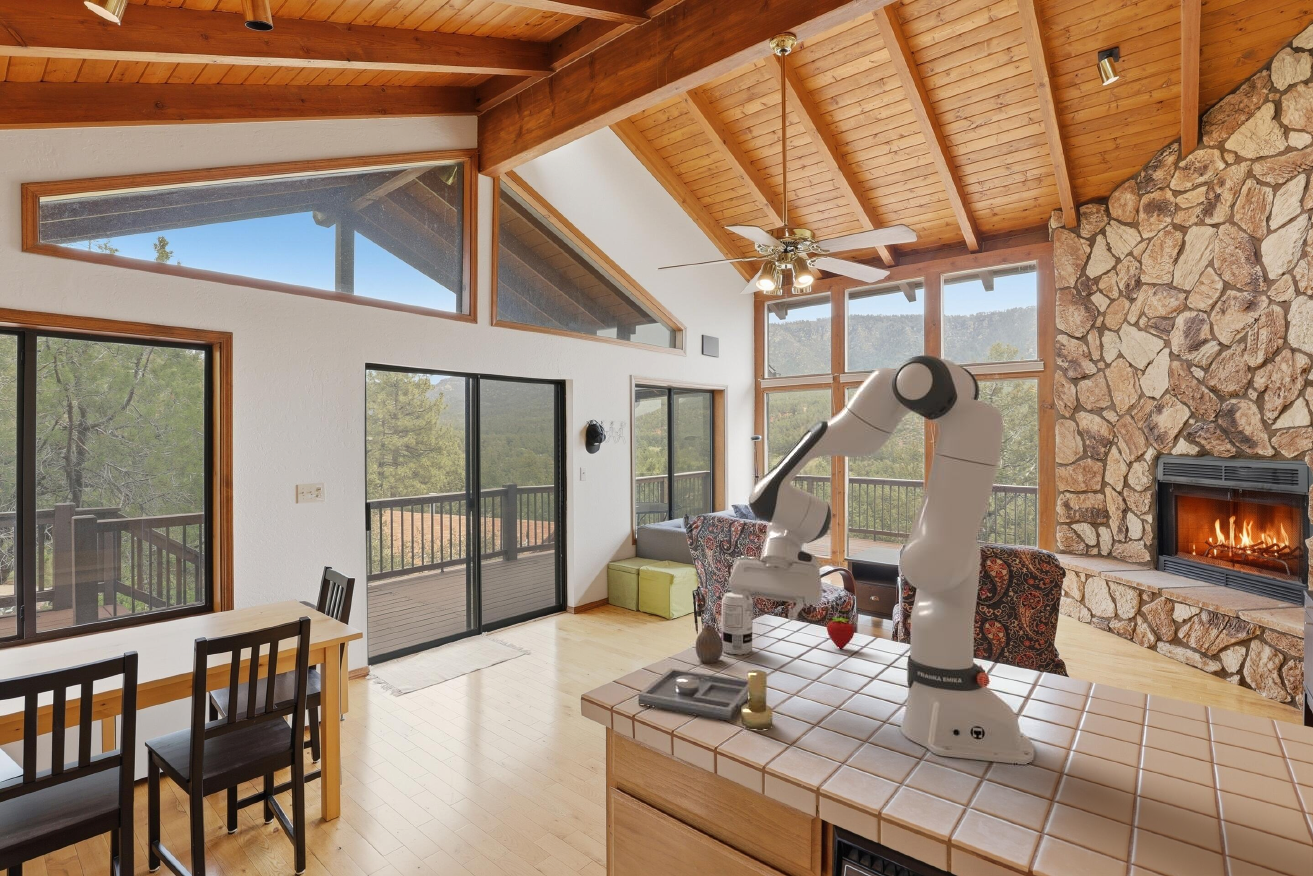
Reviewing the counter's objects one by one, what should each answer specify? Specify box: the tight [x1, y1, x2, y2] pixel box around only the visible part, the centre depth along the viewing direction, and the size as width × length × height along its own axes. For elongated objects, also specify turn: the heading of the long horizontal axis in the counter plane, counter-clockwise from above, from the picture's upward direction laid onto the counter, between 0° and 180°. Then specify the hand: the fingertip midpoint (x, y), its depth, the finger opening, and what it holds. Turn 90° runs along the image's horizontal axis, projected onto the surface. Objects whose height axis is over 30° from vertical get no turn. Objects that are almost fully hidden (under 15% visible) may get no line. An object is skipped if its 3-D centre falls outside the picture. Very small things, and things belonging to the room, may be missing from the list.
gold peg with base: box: [740, 669, 773, 730], centre depth 129 cm, size 6×6×10 cm
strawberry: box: [826, 612, 855, 649], centre depth 179 cm, size 6×8×10 cm
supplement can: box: [720, 591, 754, 656], centre depth 176 cm, size 8×8×15 cm
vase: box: [695, 624, 724, 664], centre depth 168 cm, size 7×7×9 cm
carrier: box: [637, 668, 748, 722], centre depth 142 cm, size 20×18×4 cm
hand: (769, 615), depth 141 cm, fingers open, 8 cm apart
